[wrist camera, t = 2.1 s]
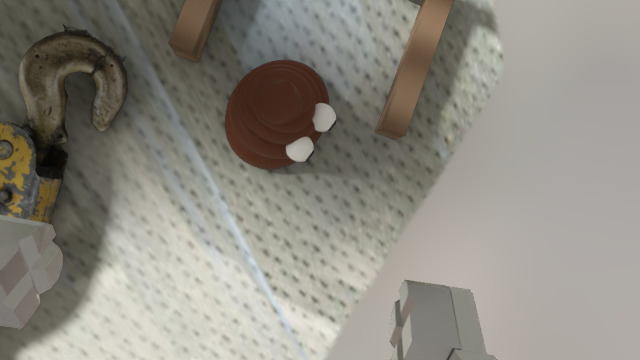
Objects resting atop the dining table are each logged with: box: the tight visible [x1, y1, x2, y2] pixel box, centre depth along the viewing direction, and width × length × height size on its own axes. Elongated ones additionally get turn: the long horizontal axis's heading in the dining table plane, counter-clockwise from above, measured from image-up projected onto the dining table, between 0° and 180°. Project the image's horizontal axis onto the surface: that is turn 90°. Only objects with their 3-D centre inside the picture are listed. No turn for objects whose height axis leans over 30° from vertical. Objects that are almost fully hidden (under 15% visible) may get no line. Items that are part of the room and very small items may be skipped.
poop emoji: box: [225, 60, 336, 169], centre depth 36 cm, size 10×8×9 cm
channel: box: [169, 0, 453, 140], centre depth 38 cm, size 15×21×6 cm
